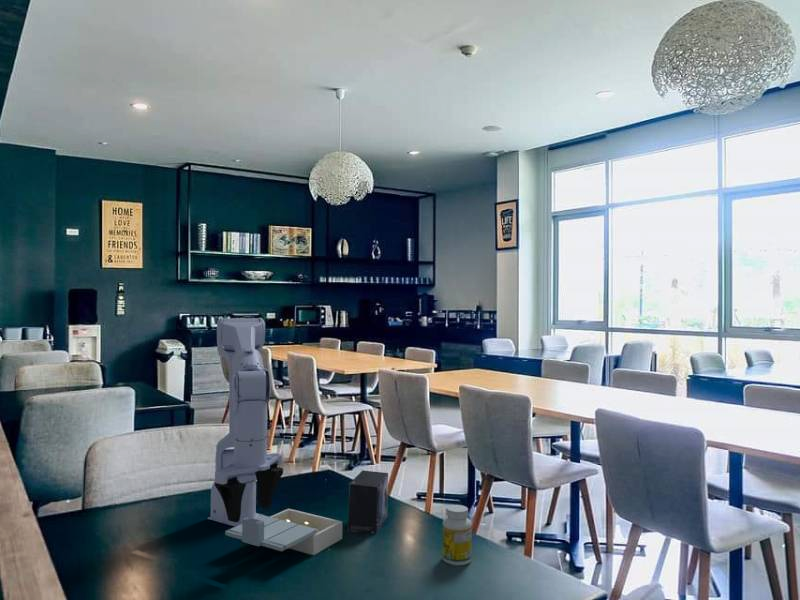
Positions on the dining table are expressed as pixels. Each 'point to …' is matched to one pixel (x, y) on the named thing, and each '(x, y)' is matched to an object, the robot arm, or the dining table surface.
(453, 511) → the supplement bottle
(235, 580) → the dining table surface
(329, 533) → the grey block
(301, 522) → the brass ball
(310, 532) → the lid
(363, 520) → the small box
